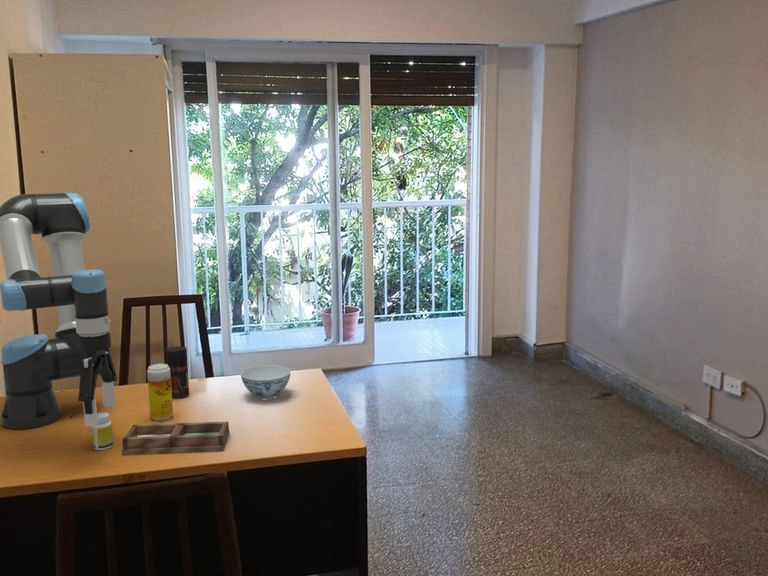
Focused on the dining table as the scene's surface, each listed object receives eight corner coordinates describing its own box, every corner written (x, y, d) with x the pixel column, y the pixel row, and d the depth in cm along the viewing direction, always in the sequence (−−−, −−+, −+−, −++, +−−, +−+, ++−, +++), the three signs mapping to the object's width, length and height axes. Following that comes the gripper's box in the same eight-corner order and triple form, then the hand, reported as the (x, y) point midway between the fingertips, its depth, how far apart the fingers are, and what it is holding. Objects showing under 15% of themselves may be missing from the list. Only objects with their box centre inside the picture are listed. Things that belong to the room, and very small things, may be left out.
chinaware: (258, 408, 195) (257, 383, 194) (232, 395, 206) (231, 371, 205) (300, 396, 205) (300, 372, 204) (274, 385, 216) (273, 362, 215)
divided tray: (122, 454, 164) (121, 440, 164) (135, 437, 175) (133, 423, 175) (223, 451, 166) (222, 437, 166) (229, 433, 177) (228, 420, 176)
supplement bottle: (117, 444, 171) (114, 412, 169) (105, 451, 166) (102, 419, 165) (101, 442, 172) (98, 411, 171) (88, 449, 168) (86, 417, 166)
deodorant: (169, 393, 208) (166, 347, 206) (189, 391, 210) (186, 345, 207) (169, 399, 203) (166, 352, 200) (189, 397, 205) (186, 350, 202)
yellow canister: (166, 422, 185) (162, 370, 182) (146, 420, 186) (142, 369, 184) (177, 414, 191) (173, 363, 188) (157, 412, 192) (154, 362, 190)
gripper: (91, 345, 152) (99, 433, 155) (124, 321, 176) (130, 398, 180) (57, 346, 151) (66, 435, 155) (95, 322, 176) (102, 400, 179)
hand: (101, 415), depth 167 cm, fingers open, 13 cm apart
